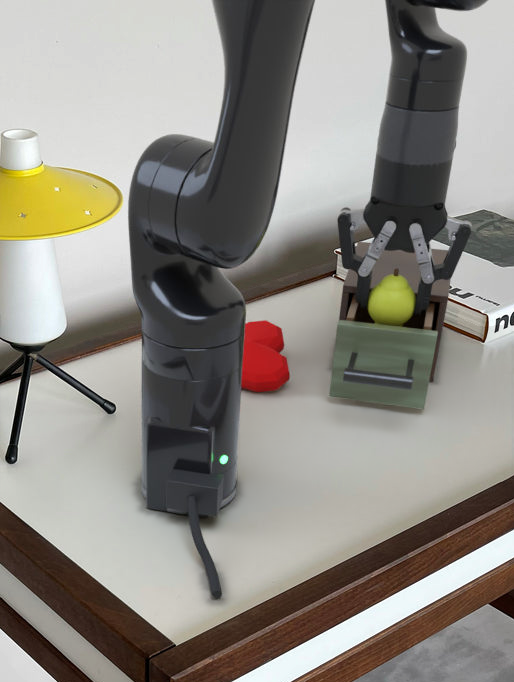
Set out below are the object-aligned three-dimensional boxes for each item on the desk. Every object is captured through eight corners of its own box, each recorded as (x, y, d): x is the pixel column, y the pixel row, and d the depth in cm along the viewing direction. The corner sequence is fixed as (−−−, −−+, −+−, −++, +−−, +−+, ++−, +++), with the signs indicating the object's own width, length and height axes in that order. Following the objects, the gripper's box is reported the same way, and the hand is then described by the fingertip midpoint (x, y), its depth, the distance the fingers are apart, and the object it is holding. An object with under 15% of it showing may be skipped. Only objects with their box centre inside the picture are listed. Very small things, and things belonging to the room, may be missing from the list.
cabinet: (432, 382, 118) (448, 296, 112) (333, 369, 121) (343, 285, 115) (439, 330, 129) (454, 250, 123) (348, 320, 132) (358, 241, 126)
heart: (204, 406, 117) (291, 399, 116) (201, 377, 114) (291, 369, 113) (200, 346, 125) (281, 338, 124) (197, 317, 122) (280, 309, 121)
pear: (410, 337, 109) (420, 280, 106) (361, 331, 111) (369, 274, 107) (413, 318, 113) (423, 262, 110) (367, 313, 115) (374, 257, 111)
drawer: (420, 434, 106) (434, 359, 101) (321, 421, 109) (330, 346, 104) (431, 356, 121) (443, 287, 116) (344, 345, 124) (352, 277, 119)
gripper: (337, 154, 100) (320, 315, 110) (489, 166, 96) (457, 331, 106) (347, 135, 106) (329, 289, 115) (490, 146, 102) (459, 303, 112)
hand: (391, 308), depth 111 cm, fingers closed on pear, 5 cm apart
